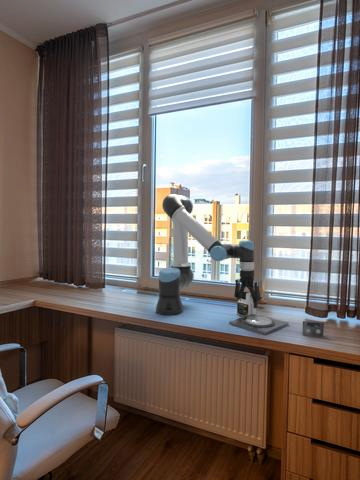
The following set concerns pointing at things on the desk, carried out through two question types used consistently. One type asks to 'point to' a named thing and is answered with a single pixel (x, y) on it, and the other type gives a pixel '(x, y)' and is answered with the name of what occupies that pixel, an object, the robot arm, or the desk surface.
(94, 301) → the desk surface
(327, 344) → the desk surface
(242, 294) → the medicine bottle
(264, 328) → the plate
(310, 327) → the mini dv tape
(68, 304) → the desk surface
